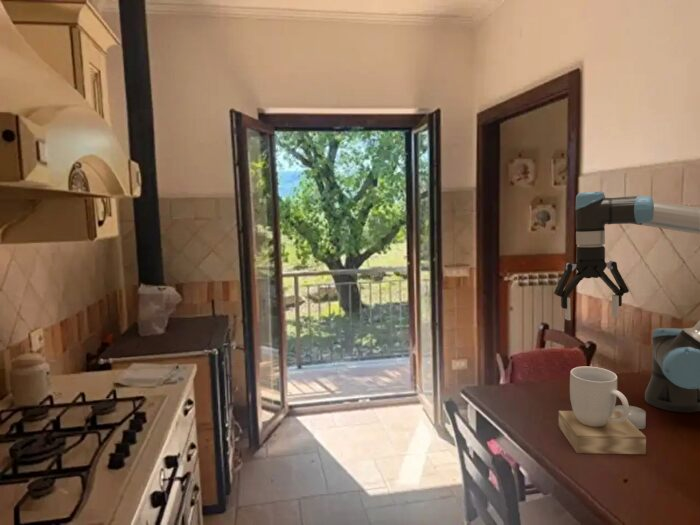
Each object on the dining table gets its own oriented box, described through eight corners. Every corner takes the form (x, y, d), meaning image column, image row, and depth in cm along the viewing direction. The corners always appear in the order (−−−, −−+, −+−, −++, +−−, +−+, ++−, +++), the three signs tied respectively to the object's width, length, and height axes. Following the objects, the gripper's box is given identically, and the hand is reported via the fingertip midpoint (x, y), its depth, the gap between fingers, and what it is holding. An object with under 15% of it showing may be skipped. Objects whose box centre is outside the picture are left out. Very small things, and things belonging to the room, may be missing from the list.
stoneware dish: (637, 418, 146) (638, 405, 146) (650, 430, 138) (651, 416, 138) (608, 418, 147) (608, 404, 147) (619, 430, 139) (619, 415, 139)
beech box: (619, 429, 141) (619, 411, 140) (645, 456, 125) (646, 436, 125) (558, 428, 143) (558, 410, 142) (577, 455, 127) (577, 435, 127)
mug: (639, 429, 129) (642, 379, 127) (614, 442, 123) (616, 390, 121) (584, 408, 142) (586, 362, 139) (559, 419, 136) (561, 372, 134)
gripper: (628, 242, 151) (629, 314, 153) (542, 247, 152) (543, 317, 154) (641, 244, 144) (642, 319, 145) (550, 248, 145) (552, 322, 147)
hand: (591, 318), depth 150 cm, fingers open, 13 cm apart
